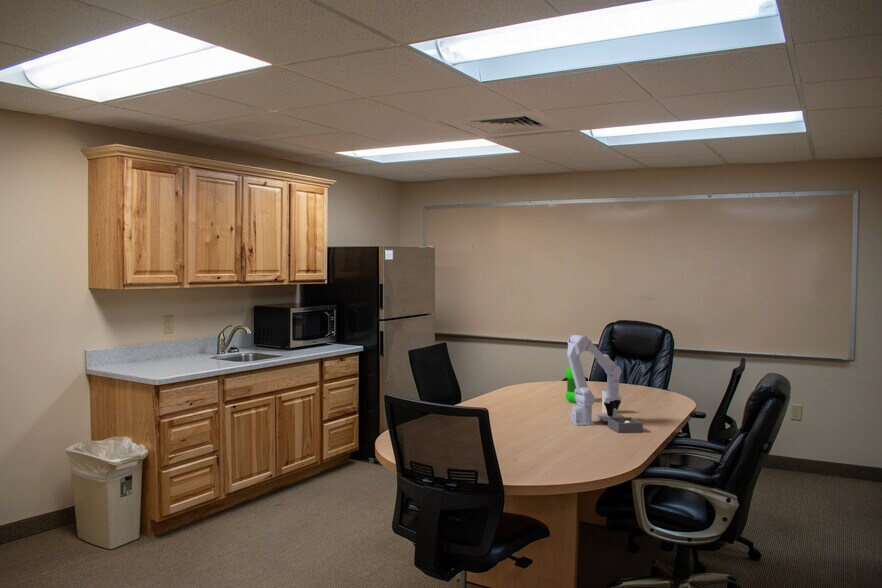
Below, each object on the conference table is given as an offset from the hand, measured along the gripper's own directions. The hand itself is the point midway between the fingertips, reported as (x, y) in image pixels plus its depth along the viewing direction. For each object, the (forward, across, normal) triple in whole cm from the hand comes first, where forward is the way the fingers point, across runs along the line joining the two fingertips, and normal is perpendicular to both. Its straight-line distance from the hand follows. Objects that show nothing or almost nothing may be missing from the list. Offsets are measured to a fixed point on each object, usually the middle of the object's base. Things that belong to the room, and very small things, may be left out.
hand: (612, 415), depth 327 cm
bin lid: (+2, 0, 0) cm, 2 cm away
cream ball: (+1, -9, -11) cm, 15 cm away
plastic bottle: (+3, +32, +35) cm, 48 cm away
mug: (+3, +19, +8) cm, 21 cm away
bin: (+3, -13, -11) cm, 17 cm away
